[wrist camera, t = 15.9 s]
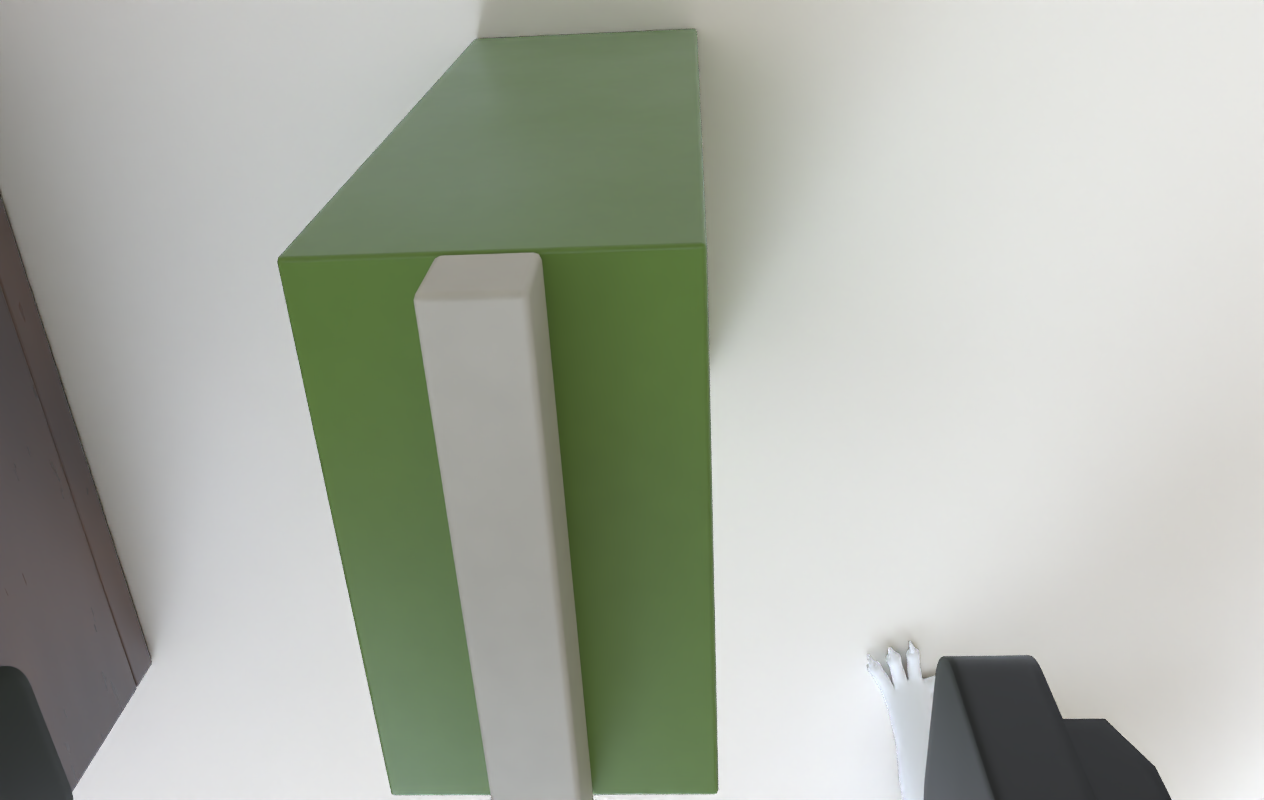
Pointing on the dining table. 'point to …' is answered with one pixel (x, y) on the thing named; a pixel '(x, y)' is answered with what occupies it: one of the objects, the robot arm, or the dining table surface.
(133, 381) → the dining table surface
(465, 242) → the green rectangular block
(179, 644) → the dining table surface
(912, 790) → the rabbit figurine
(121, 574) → the cabinet
